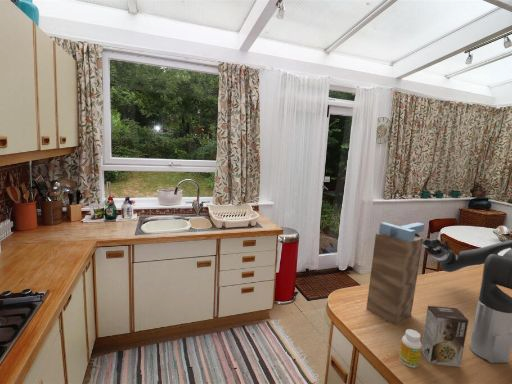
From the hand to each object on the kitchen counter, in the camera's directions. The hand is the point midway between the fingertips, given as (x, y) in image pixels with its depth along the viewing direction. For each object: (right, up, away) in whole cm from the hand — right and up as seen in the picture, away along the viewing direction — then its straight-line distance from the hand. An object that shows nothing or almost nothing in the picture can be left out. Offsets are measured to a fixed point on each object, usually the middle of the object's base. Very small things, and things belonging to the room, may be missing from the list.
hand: (425, 238), depth 122 cm
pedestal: (-19, -29, -8) cm, 35 cm away
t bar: (-13, +3, -10) cm, 17 cm away
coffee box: (-14, -33, -32) cm, 48 cm away
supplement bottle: (-25, -33, -34) cm, 54 cm away
